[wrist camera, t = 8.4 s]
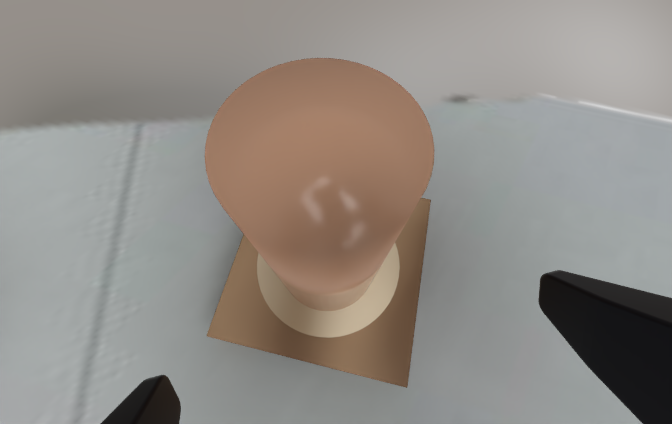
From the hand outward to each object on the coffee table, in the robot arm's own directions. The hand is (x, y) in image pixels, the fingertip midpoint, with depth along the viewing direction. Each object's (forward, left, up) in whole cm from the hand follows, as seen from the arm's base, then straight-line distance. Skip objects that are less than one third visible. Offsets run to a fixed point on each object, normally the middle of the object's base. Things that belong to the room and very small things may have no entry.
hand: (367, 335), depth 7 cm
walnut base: (+2, -4, -12) cm, 13 cm away
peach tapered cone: (+2, -4, -10) cm, 11 cm away
